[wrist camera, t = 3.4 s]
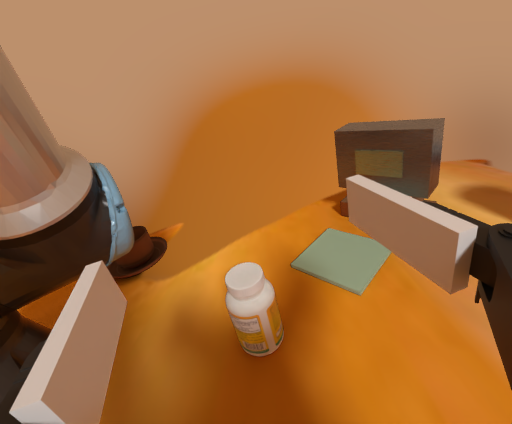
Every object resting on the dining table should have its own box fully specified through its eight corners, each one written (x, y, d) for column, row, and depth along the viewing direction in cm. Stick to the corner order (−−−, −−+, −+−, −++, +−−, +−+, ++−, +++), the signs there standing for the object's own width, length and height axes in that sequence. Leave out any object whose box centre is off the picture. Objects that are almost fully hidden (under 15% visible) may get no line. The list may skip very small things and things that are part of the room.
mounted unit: (340, 216, 51) (333, 132, 43) (353, 203, 54) (349, 122, 46) (424, 234, 41) (432, 129, 34) (434, 217, 44) (444, 118, 37)
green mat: (291, 267, 41) (290, 264, 41) (328, 230, 47) (328, 228, 47) (360, 295, 34) (360, 292, 33) (394, 248, 40) (394, 244, 40)
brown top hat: (103, 266, 54) (88, 241, 52) (158, 237, 60) (147, 214, 57) (115, 294, 45) (97, 266, 42) (179, 258, 51) (167, 231, 48)
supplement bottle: (253, 367, 28) (229, 303, 24) (233, 333, 33) (210, 273, 29) (294, 340, 30) (278, 276, 26) (270, 310, 35) (253, 251, 30)
